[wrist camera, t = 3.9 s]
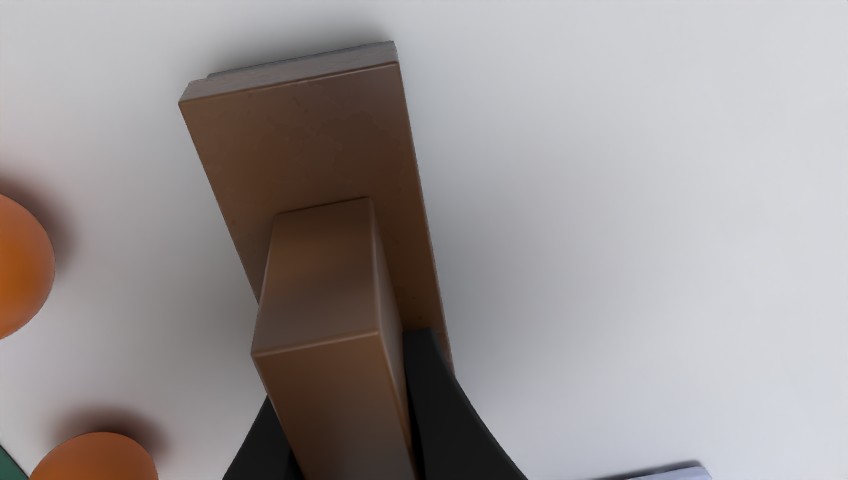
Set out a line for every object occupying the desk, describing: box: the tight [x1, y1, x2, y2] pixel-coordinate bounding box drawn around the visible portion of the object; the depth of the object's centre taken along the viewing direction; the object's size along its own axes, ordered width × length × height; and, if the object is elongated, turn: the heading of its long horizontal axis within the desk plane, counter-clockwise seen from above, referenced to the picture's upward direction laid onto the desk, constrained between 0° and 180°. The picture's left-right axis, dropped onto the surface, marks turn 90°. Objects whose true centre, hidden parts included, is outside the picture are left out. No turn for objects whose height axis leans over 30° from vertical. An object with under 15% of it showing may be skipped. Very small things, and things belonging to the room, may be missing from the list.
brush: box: [178, 40, 456, 480], centre depth 13 cm, size 4×13×6 cm, turn 9°
